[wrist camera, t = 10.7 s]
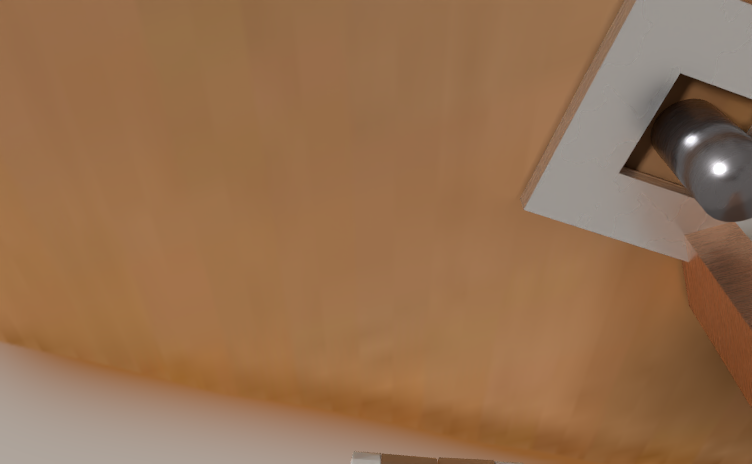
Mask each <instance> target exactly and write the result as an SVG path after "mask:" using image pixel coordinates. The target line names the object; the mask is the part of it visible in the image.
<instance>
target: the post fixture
mask: <svg viewBox="0 0 752 464" xmlns="http://www.w3.org/2000/svg"><path fill="white" fill-rule="evenodd" d="M651 141H652V145H653V147H654V149H655V150H656V152H657V153H658V154H659V155H660V157H661V158H662V159H663V160H664V162H665V163H666V164H667V165H668V166H669V168H670V169H671V170H672V171H673V173H674V174H675V175H676V176H677V178H678V179H679V180H680V181H681V182H682V184H683V185H684V186H685V187H686V189H687V190H688V191H689V192H690V194H691V195H692V196H693V197H694V198H695V200H696V201H697V202H698V203H699V205H700V206H701V207H702V208H703V209H704V211H705V212H706V213H707V214H708V215H709V216H711V217H712V218H714V219H716V220H719V221H724V222H739V221H744V220H747V219H750V218H752V138H751V137H750V136H749V135H747V134H746V133H745V132H744V131H743V130H742V129H740V128H739V127H738V126H737V125H736V124H734V123H733V122H732V121H731V120H730V119H728V118H727V117H726V116H725V115H724V114H723V113H721V112H720V111H719V110H718V109H717V108H715V107H714V106H713V105H712V104H711V103H709V102H707V101H704V100H700V99H687V100H683V101H680V102H677V103H675V104H673V105H671V106H670V107H668V108H667V109H666V110H664V111H663V112H662V113H661V114H660V116H659V117H658V118H657V120H656V121H655V123H654V125H653V128H652V132H651Z"/></svg>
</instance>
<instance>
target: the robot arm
mask: <svg viewBox="0 0 752 464" xmlns="http://www.w3.org/2000/svg"><path fill="white" fill-rule="evenodd" d="M351 464H523V463H517V462H494V461H493V460H478V459H458V458H438V462H437V459H436V458H428V457H416V456H404V455H392V454H382V459H381V453H369V452H355V451H354V452H353V455H352V459H351Z"/></svg>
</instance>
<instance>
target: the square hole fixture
mask: <svg viewBox="0 0 752 464" xmlns="http://www.w3.org/2000/svg"><path fill="white" fill-rule="evenodd" d="M680 73H681V74H684V75H687V76H689V77H692V78H695V79H698V80H700V81H703V82H706V83H709V84H711V85H714V86H717V87H720V88H722V89H725V90H728V91H731V92H734V93H736V94H739V95H742V96H745V97H747V98H750V99H752V4H750V3H747V2H745V1H742V0H624V2H623V4H622V6H621V8H620V10H619V12H618V14H617V16H616V17H615V19H614V21H613V23H612V25H611V27H610V29H609V31H608V33H607V35H606V36H605V38H604V40H603V42H602V44H601V46H600V48H599V50H598V52H597V53H596V55H595V57H594V59H593V61H592V63H591V65H590V67H589V69H588V71H587V72H586V74H585V76H584V78H583V80H582V82H581V84H580V86H579V88H578V89H577V91H576V93H575V95H574V97H573V99H572V101H571V103H570V105H569V107H568V108H567V110H566V112H565V114H564V116H563V118H562V120H561V122H560V124H559V125H558V127H557V129H556V131H555V133H554V135H553V137H552V139H551V141H550V143H549V144H548V146H547V148H546V150H545V152H544V154H543V156H542V158H541V160H540V161H539V163H538V165H537V167H536V169H535V171H534V173H533V175H532V177H531V179H530V180H529V182H528V184H527V186H526V188H525V190H524V192H523V194H522V196H521V197H520V200H521V203H522V206H523V209H524V210H526V211H529V212H532V213H535V214H539V215H542V216H545V217H548V218H551V219H554V220H557V221H561V222H564V223H567V224H570V225H573V226H576V227H579V228H583V229H586V230H589V231H592V232H595V233H598V234H601V235H605V236H608V237H611V238H614V239H617V240H620V241H623V242H627V243H630V244H633V245H636V246H639V247H642V248H645V249H649V250H652V251H655V252H658V253H661V254H664V255H667V256H671V257H674V258H677V259H680V260H682V265H683V271H684V277H685V283H686V289H687V295H688V301H689V306H690V308H691V309H692V311H693V313H694V314H695V316H696V318H697V319H698V321H699V322H700V324H701V326H702V327H703V329H704V331H705V332H706V334H707V336H708V337H709V339H710V340H711V342H712V344H713V345H714V347H715V349H716V350H717V352H718V354H719V355H720V357H721V359H722V360H723V362H724V363H725V365H726V367H727V368H728V370H729V372H730V373H731V375H732V377H733V378H734V380H735V381H736V383H737V385H738V386H739V388H740V390H741V391H742V393H743V395H744V396H745V398H746V400H747V401H748V403H749V404H750V406H751V408H752V218H750V219H747V220H744V221H739V222H724V221H719V220H716V219H714V218H712V217H711V216H709V215H708V214H707V213H706V212H705V211H704V209H703V208H702V207H701V206H700V205H699V203H698V202H697V201H696V200H695V198H694V197H693V196H692V195H691V194H690V192H689V191H688V190H687V189H686V187H684V186H681V185H678V184H675V183H672V182H669V181H666V180H663V179H660V178H657V177H654V176H651V175H648V174H645V173H642V172H639V171H636V170H633V169H630V168H627V167H624V166H623V165H624V164H625V162H626V161H627V159H628V157H629V156H630V154H631V152H632V151H633V149H634V148H635V146H636V144H637V143H638V141H639V139H640V138H641V136H642V135H643V133H644V131H645V130H646V128H647V126H648V125H649V123H650V122H651V120H652V118H653V117H654V115H655V113H656V112H657V110H658V109H659V107H660V105H661V104H662V102H663V101H664V99H665V97H666V96H667V94H668V92H669V91H670V89H671V88H672V86H673V84H674V83H675V81H676V79H677V78H678V76H679V75H680ZM746 134H747V135H749V136H750V137H751V138H752V126H751V127H750V128H749V130H748V131H747V133H746Z"/></svg>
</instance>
